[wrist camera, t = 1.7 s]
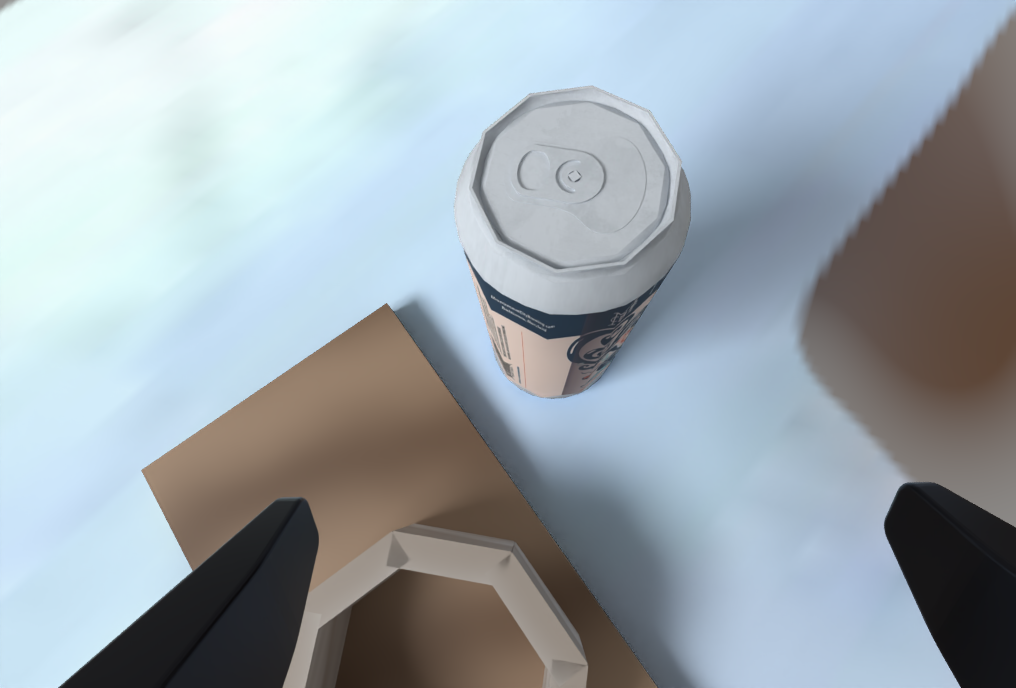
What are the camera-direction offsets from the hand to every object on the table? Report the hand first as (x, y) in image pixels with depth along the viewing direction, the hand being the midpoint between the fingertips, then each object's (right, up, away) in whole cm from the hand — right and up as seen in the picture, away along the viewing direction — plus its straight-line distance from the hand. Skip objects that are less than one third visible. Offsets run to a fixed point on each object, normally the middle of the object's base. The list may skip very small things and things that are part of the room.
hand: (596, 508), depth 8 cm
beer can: (0, +3, +13) cm, 14 cm away
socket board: (-4, -9, +10) cm, 14 cm away
